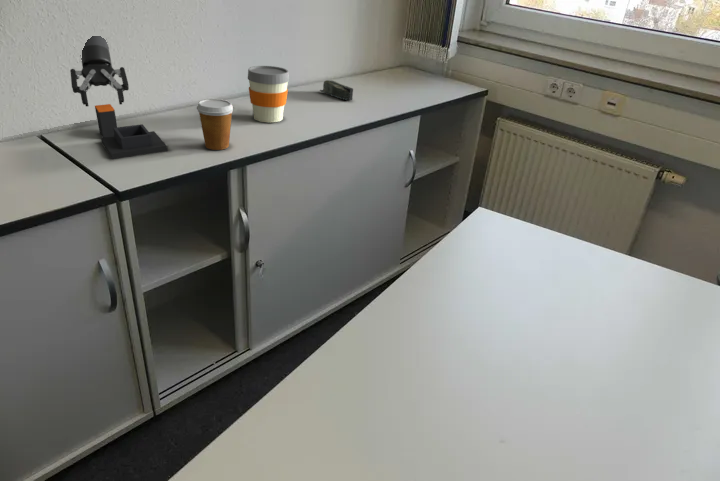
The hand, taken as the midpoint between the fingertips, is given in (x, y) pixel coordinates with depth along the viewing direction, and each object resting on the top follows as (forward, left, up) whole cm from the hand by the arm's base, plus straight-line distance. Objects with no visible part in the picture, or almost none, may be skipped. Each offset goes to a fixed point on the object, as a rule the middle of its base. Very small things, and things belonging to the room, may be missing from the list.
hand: (103, 104), depth 149 cm
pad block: (0, -3, -8) cm, 8 cm away
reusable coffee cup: (+47, -6, -8) cm, 48 cm away
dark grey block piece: (+80, +8, -8) cm, 81 cm away
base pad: (+4, -14, -8) cm, 16 cm away
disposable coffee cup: (+24, -22, -8) cm, 33 cm away
